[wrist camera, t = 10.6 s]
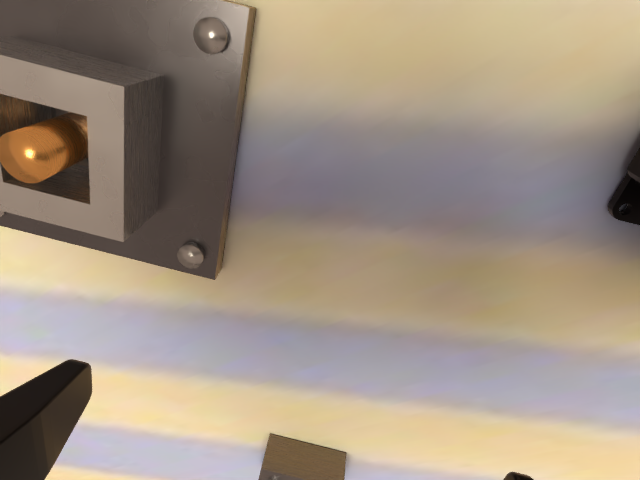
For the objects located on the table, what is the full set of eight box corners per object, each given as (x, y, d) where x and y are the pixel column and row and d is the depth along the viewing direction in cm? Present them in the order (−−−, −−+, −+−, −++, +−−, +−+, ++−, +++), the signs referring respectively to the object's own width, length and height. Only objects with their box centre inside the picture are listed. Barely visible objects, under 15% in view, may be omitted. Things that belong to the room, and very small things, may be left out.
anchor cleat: (345, 452, 27) (343, 496, 25) (334, 480, 29) (331, 523, 26) (270, 433, 27) (259, 475, 25) (262, 461, 29) (252, 504, 26)
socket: (163, 75, 17) (123, 86, 14) (157, 211, 20) (123, 242, 17) (13, 36, 17) (-55, 40, 14) (29, 178, 20) (-25, 204, 17)
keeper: (256, 7, 16) (211, 6, 12) (221, 269, 22) (182, 333, 17) (-56, -73, 16) (-217, -104, 12) (-9, 211, 22) (-105, 261, 17)
